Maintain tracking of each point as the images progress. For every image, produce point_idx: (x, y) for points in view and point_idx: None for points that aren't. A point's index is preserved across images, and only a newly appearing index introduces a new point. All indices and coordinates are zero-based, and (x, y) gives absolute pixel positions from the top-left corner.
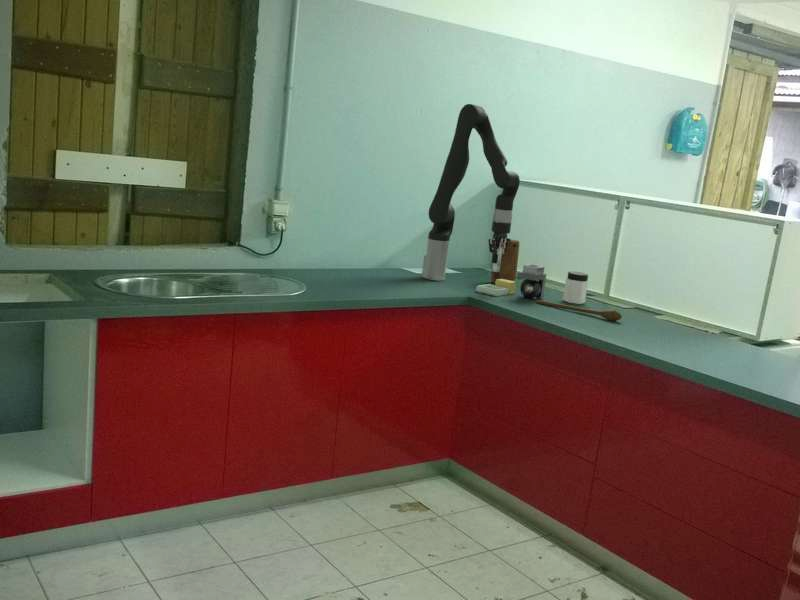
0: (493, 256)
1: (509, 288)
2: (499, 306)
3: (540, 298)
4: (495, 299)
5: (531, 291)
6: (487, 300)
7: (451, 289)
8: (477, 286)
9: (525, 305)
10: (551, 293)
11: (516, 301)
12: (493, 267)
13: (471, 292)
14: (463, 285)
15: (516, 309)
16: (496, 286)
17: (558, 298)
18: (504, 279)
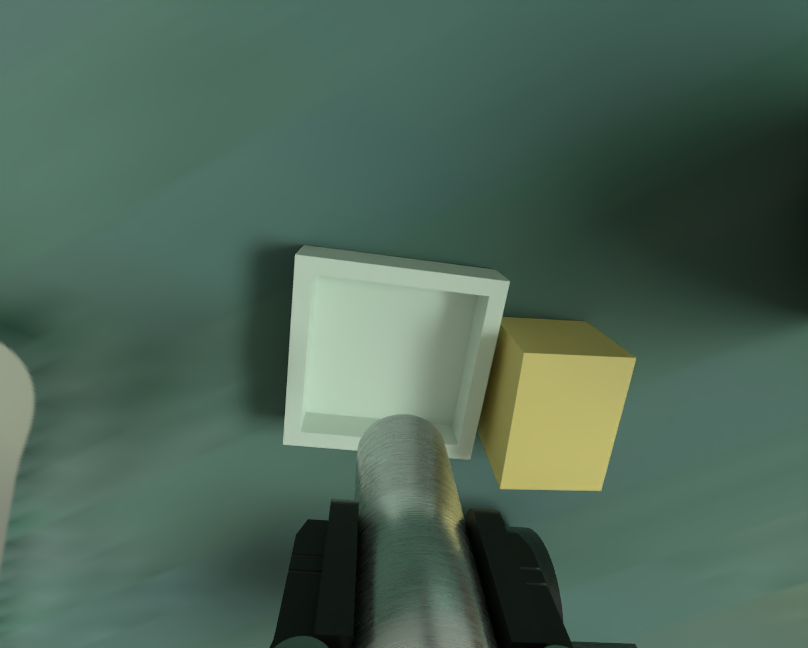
0: (278, 621)
1: (488, 454)
2: (5, 564)
3: None
4: (186, 460)
5: None
6: (84, 447)
7: (135, 48)
8: (295, 260)
9: (230, 619)
10: (787, 552)
11: (285, 551)
12: (358, 470)
13: (224, 238)
14: (468, 16)
15: (56, 639)
16: (474, 358)
17: (652, 624)
18: (619, 391)
